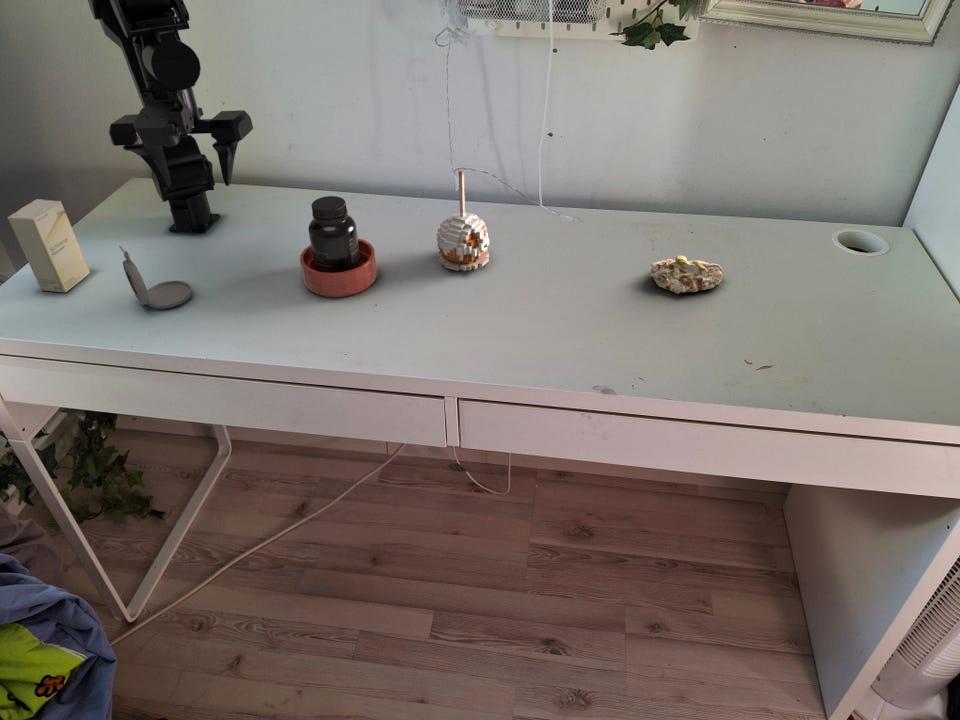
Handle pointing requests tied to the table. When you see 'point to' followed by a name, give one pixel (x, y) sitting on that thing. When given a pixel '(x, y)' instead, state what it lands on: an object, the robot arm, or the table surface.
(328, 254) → the supplement bottle
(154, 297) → the pocket watch
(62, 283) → the cosmetic box
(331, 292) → the bowl
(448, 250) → the caramel apple
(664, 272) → the mineral rock
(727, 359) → the table surface
